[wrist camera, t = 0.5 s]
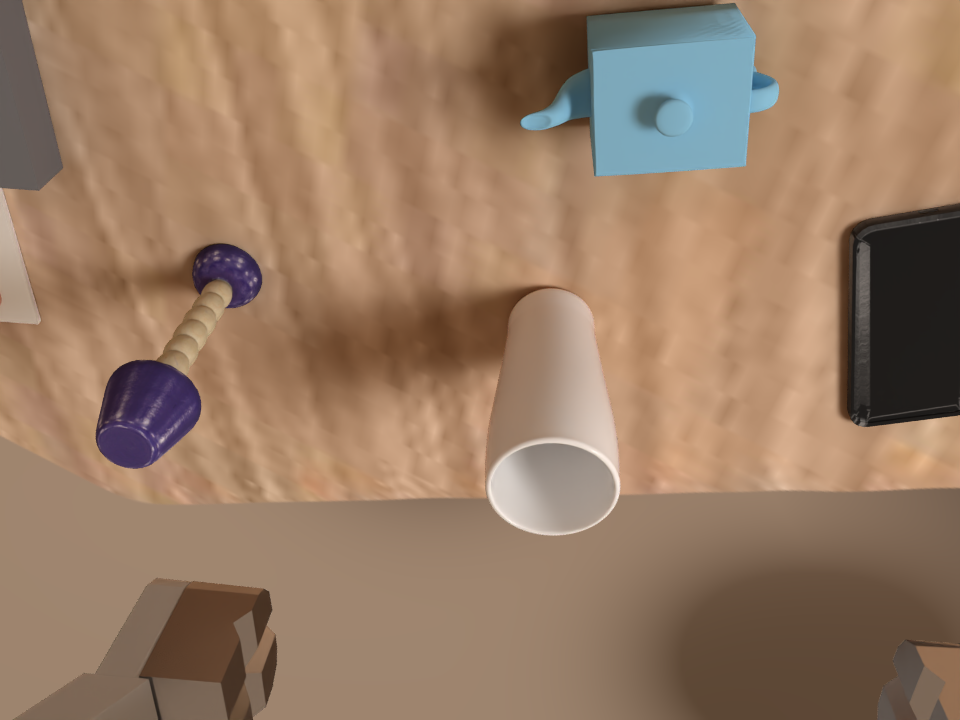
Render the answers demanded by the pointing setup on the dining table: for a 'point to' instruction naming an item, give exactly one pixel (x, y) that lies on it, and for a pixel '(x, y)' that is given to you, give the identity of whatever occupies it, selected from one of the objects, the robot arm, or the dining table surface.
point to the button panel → (23, 108)
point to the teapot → (665, 90)
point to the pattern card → (14, 275)
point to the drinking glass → (552, 421)
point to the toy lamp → (172, 367)
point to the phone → (904, 317)
